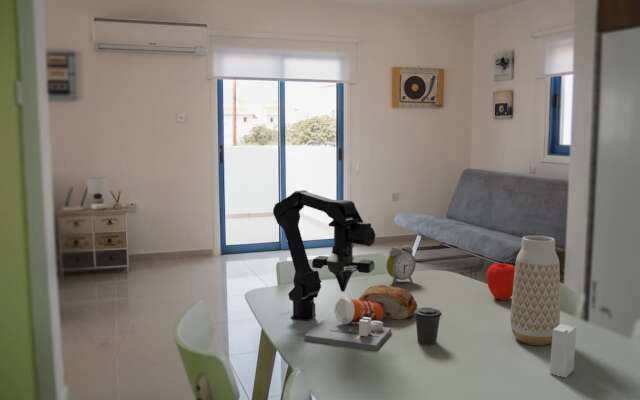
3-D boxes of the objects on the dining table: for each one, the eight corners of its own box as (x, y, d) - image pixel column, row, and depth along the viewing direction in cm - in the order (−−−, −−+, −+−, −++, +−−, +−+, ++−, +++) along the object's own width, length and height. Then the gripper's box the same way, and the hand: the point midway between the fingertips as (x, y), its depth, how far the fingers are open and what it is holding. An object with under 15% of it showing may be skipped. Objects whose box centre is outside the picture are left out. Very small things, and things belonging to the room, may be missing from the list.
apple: (522, 297, 227) (524, 261, 225) (514, 305, 217) (515, 268, 215) (491, 292, 233) (492, 258, 231) (481, 300, 223) (482, 264, 222)
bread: (350, 316, 206) (350, 286, 204) (368, 301, 222) (368, 274, 221) (409, 324, 198) (410, 293, 196) (423, 308, 214) (424, 280, 213)
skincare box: (557, 367, 162) (559, 322, 161) (574, 371, 159) (577, 326, 158) (548, 374, 158) (551, 328, 156) (566, 379, 155) (569, 332, 153)
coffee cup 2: (424, 349, 175) (425, 315, 174) (407, 340, 182) (408, 307, 181) (446, 344, 179) (447, 311, 177) (429, 335, 186) (430, 303, 185)
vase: (557, 335, 187) (562, 235, 183) (559, 350, 174) (565, 244, 170) (510, 329, 191) (514, 232, 187) (508, 345, 178) (513, 241, 174)
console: (304, 340, 182) (304, 328, 182) (324, 323, 197) (324, 312, 196) (375, 350, 174) (376, 338, 173) (390, 332, 189) (391, 321, 188)
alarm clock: (393, 285, 243) (394, 248, 241) (382, 282, 248) (383, 245, 246) (415, 281, 249) (416, 245, 247) (404, 278, 255) (405, 242, 253)
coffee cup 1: (389, 318, 194) (354, 316, 185) (372, 329, 199) (337, 328, 190) (381, 294, 199) (346, 291, 190) (365, 306, 204) (330, 304, 195)
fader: (358, 335, 181) (359, 320, 180) (363, 331, 184) (363, 316, 184) (367, 336, 180) (367, 321, 179) (371, 332, 183) (371, 317, 183)
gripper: (305, 244, 185) (305, 294, 187) (364, 249, 178) (363, 301, 180) (318, 237, 195) (318, 285, 197) (375, 242, 188) (374, 291, 190)
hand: (343, 291), depth 191 cm, fingers closed
